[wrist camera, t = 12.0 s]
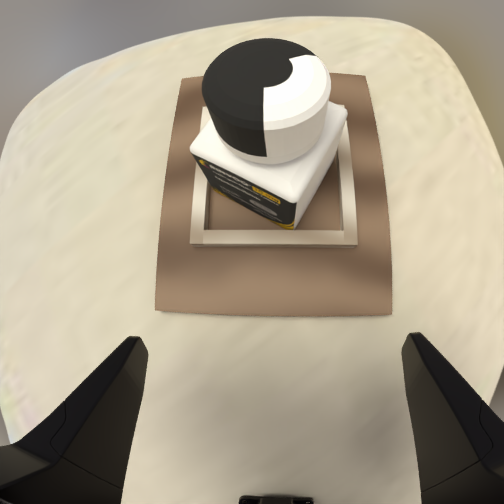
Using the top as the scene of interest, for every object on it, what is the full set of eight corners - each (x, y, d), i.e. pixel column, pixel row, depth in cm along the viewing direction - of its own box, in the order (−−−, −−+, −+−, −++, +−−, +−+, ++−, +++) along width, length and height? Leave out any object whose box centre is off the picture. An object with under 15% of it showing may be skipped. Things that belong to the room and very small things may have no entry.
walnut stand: (386, 313, 22) (397, 314, 20) (160, 310, 24) (148, 310, 21) (362, 83, 26) (367, 68, 23) (185, 85, 27) (178, 71, 25)
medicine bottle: (212, 191, 24) (155, 99, 12) (257, 123, 24) (239, 12, 13) (292, 234, 22) (301, 160, 11) (334, 159, 23) (366, 53, 11)
